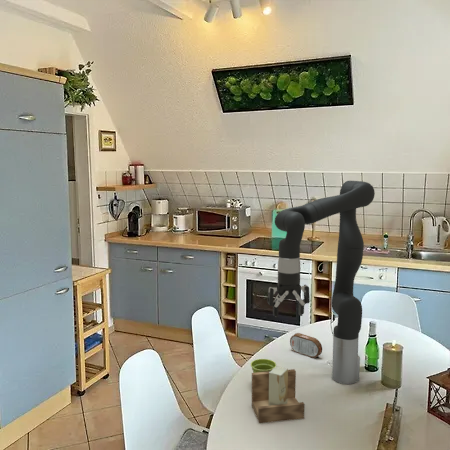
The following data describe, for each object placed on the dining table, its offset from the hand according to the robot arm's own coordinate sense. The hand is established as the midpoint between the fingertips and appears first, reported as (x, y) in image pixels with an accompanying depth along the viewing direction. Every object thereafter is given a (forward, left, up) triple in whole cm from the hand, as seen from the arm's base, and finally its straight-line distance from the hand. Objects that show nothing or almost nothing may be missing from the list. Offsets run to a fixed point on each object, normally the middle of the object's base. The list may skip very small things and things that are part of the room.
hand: (288, 316), depth 158 cm
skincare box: (+6, +8, -28) cm, 30 cm away
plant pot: (+6, -10, -30) cm, 32 cm away
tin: (-19, -34, -30) cm, 49 cm away
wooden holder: (+6, +8, -30) cm, 32 cm away
